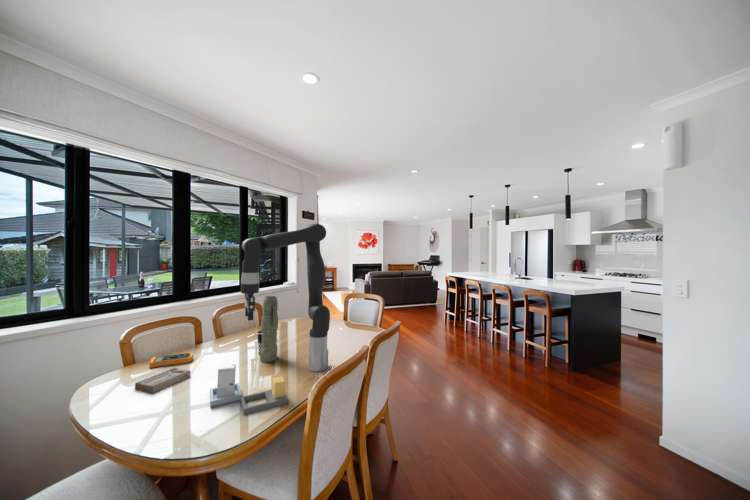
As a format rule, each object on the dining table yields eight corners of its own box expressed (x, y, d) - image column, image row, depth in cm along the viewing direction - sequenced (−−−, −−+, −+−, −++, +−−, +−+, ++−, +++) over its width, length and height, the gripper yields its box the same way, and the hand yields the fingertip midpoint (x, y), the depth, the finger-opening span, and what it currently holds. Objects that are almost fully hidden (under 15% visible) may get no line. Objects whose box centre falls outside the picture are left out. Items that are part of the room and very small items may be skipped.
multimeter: (191, 363, 147) (191, 356, 147) (148, 369, 139) (148, 362, 139) (193, 357, 155) (193, 351, 155) (152, 362, 146) (152, 356, 146)
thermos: (267, 364, 147) (269, 298, 147) (255, 358, 154) (257, 296, 154) (282, 359, 155) (284, 296, 155) (269, 354, 162) (271, 294, 162)
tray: (239, 388, 122) (239, 382, 122) (241, 400, 113) (242, 394, 113) (209, 394, 116) (210, 388, 116) (210, 408, 107) (210, 401, 107)
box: (134, 390, 119) (134, 382, 119) (174, 373, 135) (174, 367, 135) (151, 394, 115) (152, 387, 115) (190, 376, 132) (190, 370, 132)
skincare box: (216, 399, 112) (217, 369, 112) (218, 394, 116) (219, 365, 116) (233, 397, 113) (234, 368, 113) (235, 392, 118) (236, 363, 118)
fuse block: (281, 392, 120) (282, 373, 120) (287, 403, 112) (287, 383, 112) (240, 401, 112) (241, 381, 112) (243, 414, 103) (244, 393, 103)
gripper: (261, 283, 122) (260, 320, 122) (256, 280, 134) (255, 313, 134) (242, 284, 118) (241, 322, 118) (239, 280, 130) (238, 315, 130)
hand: (249, 318), depth 126 cm, fingers open, 8 cm apart
